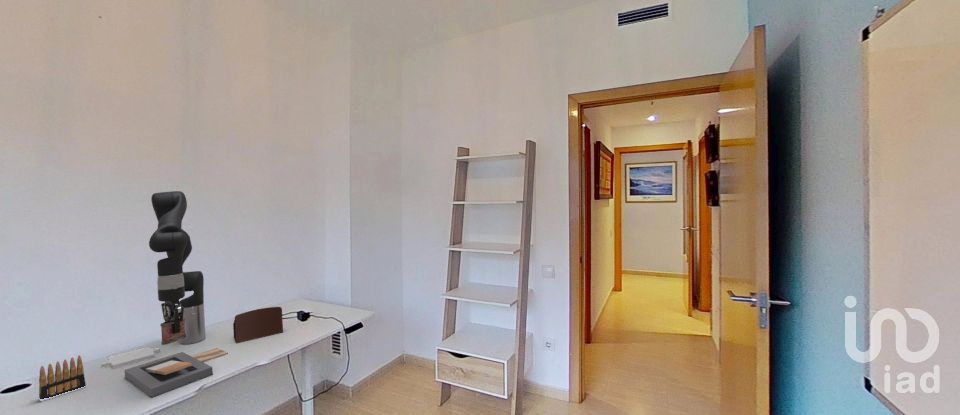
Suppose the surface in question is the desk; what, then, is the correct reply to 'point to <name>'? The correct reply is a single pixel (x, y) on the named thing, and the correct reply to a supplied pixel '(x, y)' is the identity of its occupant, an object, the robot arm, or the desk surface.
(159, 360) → the gray rectangular recessed tray
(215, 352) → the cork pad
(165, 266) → the robot arm
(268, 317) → the letter holder
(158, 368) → the two-tone tile
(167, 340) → the lighter
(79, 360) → the ammunition clip
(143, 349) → the mounting plate
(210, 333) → the desk surface
